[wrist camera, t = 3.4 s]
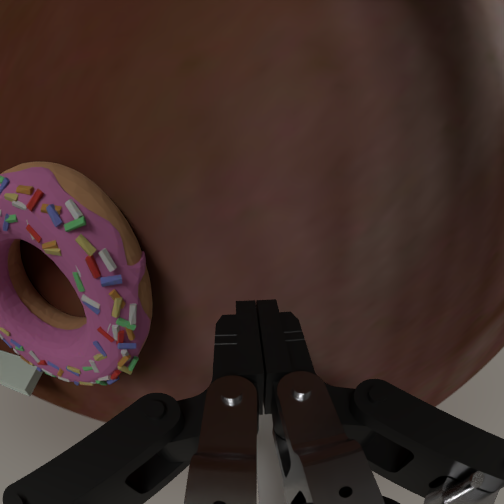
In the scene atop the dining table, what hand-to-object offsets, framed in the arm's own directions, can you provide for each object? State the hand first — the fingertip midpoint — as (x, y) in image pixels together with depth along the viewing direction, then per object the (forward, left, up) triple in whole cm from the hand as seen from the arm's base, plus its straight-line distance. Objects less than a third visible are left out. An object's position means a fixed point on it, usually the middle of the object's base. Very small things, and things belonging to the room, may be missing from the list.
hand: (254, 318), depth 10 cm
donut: (+12, 0, -5) cm, 13 cm away
